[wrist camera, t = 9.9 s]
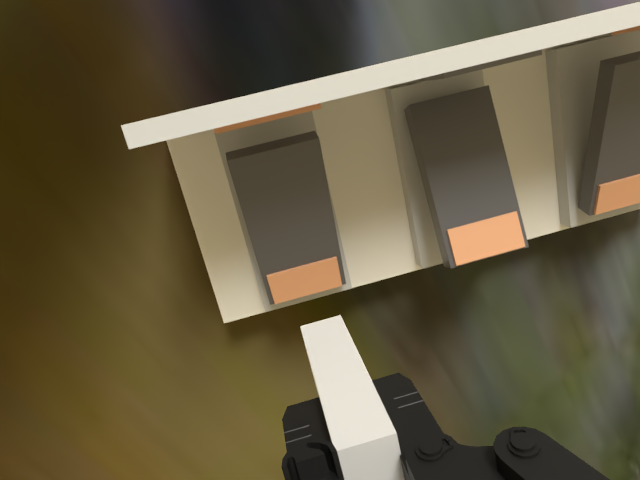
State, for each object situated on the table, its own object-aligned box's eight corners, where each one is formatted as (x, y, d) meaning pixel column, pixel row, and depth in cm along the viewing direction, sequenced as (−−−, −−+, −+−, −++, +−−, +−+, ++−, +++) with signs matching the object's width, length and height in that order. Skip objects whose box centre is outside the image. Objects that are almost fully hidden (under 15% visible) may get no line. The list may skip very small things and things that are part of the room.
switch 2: (444, 267, 31) (452, 268, 29) (404, 109, 30) (410, 103, 29) (519, 246, 31) (530, 247, 30) (480, 90, 31) (490, 83, 29)
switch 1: (267, 293, 32) (270, 306, 31) (225, 152, 27) (226, 162, 26) (341, 273, 33) (346, 285, 32) (314, 130, 27) (320, 139, 26)
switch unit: (225, 306, 37) (217, 408, 24) (166, 117, 33) (120, 125, 20) (641, 192, 40) (824, 232, 27) (634, 5, 36) (845, -48, 23)
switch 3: (577, 207, 34) (591, 217, 33) (600, 60, 28) (617, 66, 27) (643, 189, 35) (659, 198, 33) (679, 41, 29) (699, 46, 28)
